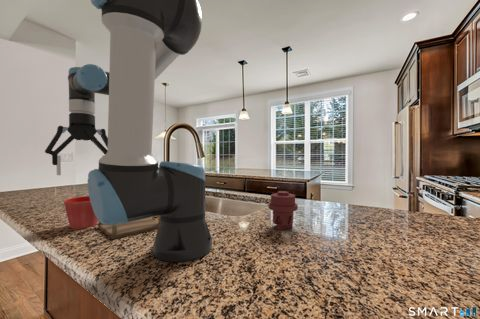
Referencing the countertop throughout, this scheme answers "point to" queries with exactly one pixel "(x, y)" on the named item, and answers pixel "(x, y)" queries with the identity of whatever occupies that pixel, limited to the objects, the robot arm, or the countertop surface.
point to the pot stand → (129, 227)
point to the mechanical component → (283, 209)
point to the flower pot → (80, 212)
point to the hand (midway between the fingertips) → (83, 173)
